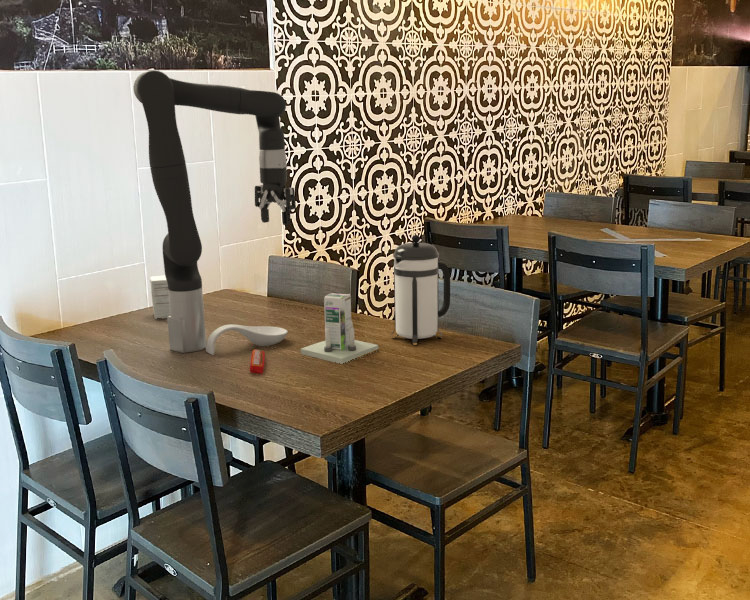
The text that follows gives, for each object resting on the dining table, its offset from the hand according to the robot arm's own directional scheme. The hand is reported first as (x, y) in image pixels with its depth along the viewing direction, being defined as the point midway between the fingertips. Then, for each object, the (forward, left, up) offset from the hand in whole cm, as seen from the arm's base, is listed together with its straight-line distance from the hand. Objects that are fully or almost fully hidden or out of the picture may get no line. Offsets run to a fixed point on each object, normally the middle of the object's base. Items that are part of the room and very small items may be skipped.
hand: (275, 223), depth 234 cm
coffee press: (+22, -34, -33) cm, 52 cm away
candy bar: (-23, -16, -34) cm, 44 cm away
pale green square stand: (-2, -25, -33) cm, 42 cm away
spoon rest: (-13, 0, -34) cm, 36 cm away
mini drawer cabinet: (-6, +48, -33) cm, 59 cm away
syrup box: (-2, -25, -32) cm, 40 cm away
